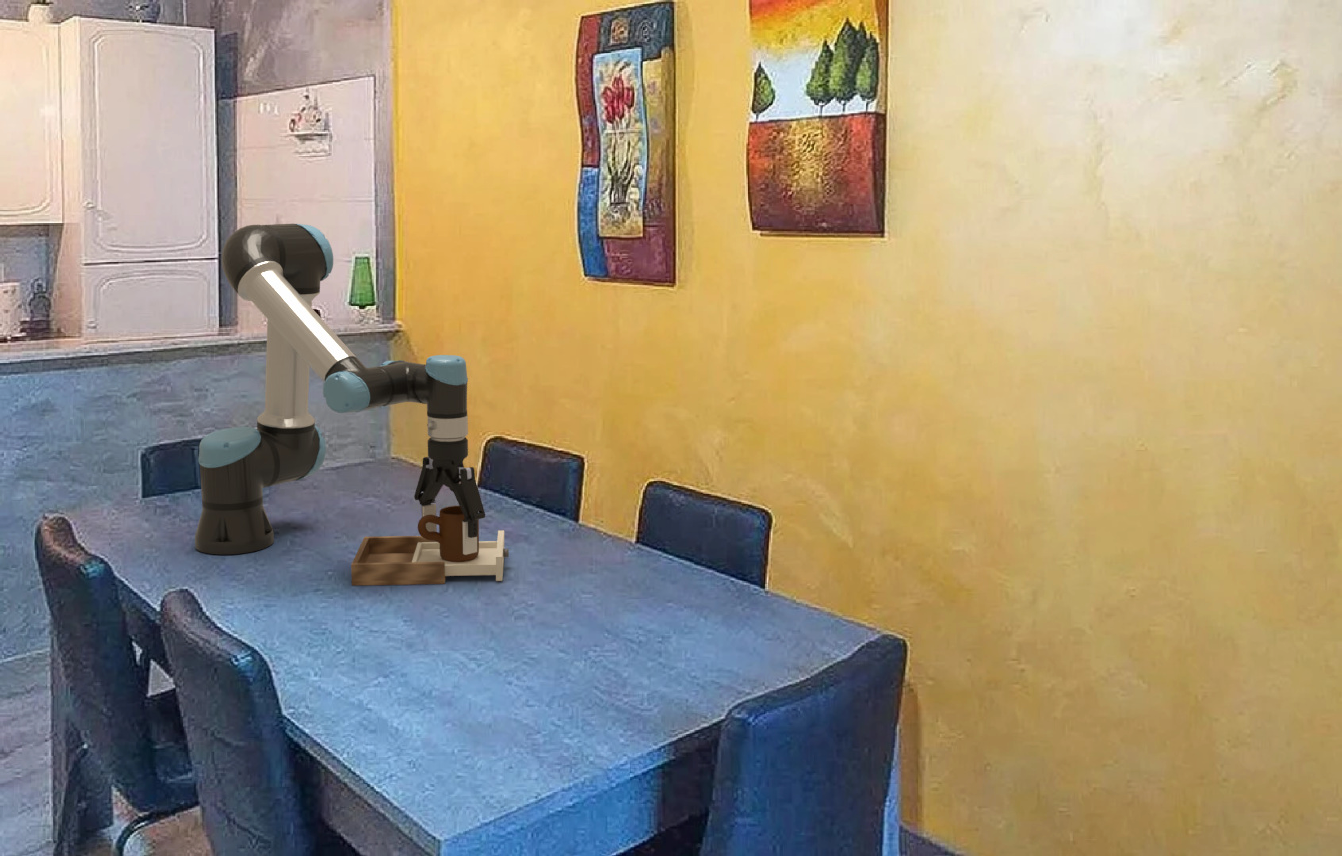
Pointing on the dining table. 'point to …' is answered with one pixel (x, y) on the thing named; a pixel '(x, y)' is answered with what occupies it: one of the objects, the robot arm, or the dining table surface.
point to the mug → (448, 533)
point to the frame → (393, 563)
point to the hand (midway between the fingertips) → (449, 545)
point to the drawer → (483, 564)
